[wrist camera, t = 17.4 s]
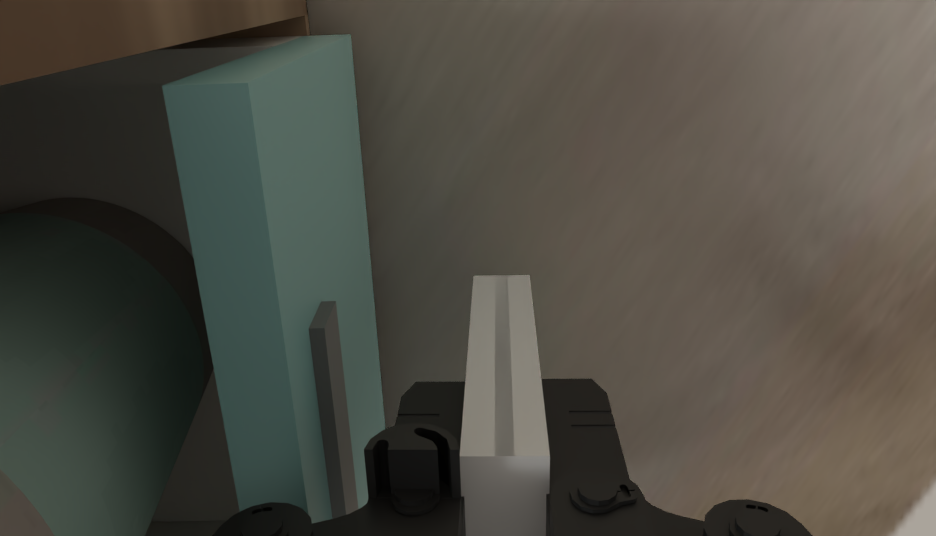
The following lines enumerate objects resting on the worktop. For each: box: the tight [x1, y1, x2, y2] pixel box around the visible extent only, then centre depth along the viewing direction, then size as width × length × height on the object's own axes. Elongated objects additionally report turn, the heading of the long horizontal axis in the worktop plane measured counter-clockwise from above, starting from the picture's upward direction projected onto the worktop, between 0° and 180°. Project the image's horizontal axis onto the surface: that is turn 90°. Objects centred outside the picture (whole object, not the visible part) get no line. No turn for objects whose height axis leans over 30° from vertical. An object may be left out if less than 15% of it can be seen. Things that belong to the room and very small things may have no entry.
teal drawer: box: [0, 34, 385, 536], centre depth 14 cm, size 12×13×8 cm
